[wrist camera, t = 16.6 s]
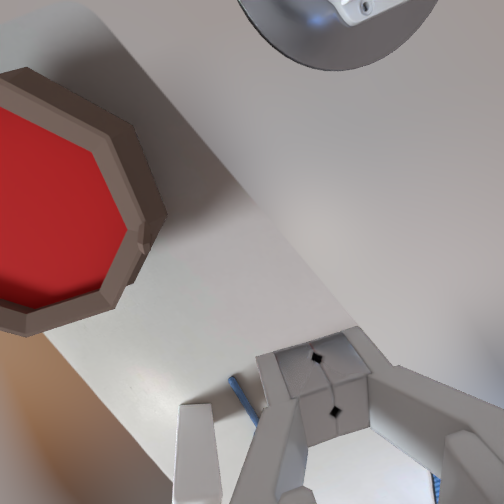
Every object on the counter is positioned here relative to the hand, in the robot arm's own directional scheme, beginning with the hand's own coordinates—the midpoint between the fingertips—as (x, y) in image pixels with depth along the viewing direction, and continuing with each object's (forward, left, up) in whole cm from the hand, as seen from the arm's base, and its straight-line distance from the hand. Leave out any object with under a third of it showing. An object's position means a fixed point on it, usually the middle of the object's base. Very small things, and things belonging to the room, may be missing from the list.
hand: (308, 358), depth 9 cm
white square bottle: (+14, +40, -34) cm, 55 cm away
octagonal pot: (+17, -2, -34) cm, 39 cm away
